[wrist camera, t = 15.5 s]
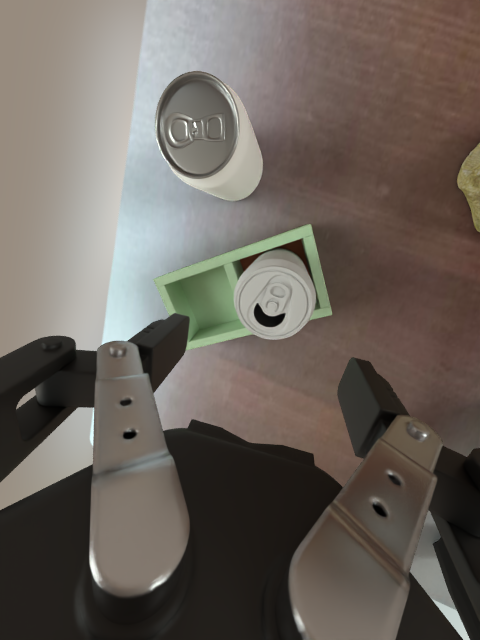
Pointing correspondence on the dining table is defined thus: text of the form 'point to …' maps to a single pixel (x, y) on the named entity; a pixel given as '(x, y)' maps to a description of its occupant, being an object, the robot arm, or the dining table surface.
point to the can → (208, 136)
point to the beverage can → (275, 295)
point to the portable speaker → (457, 591)
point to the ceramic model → (471, 183)
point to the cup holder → (232, 287)
